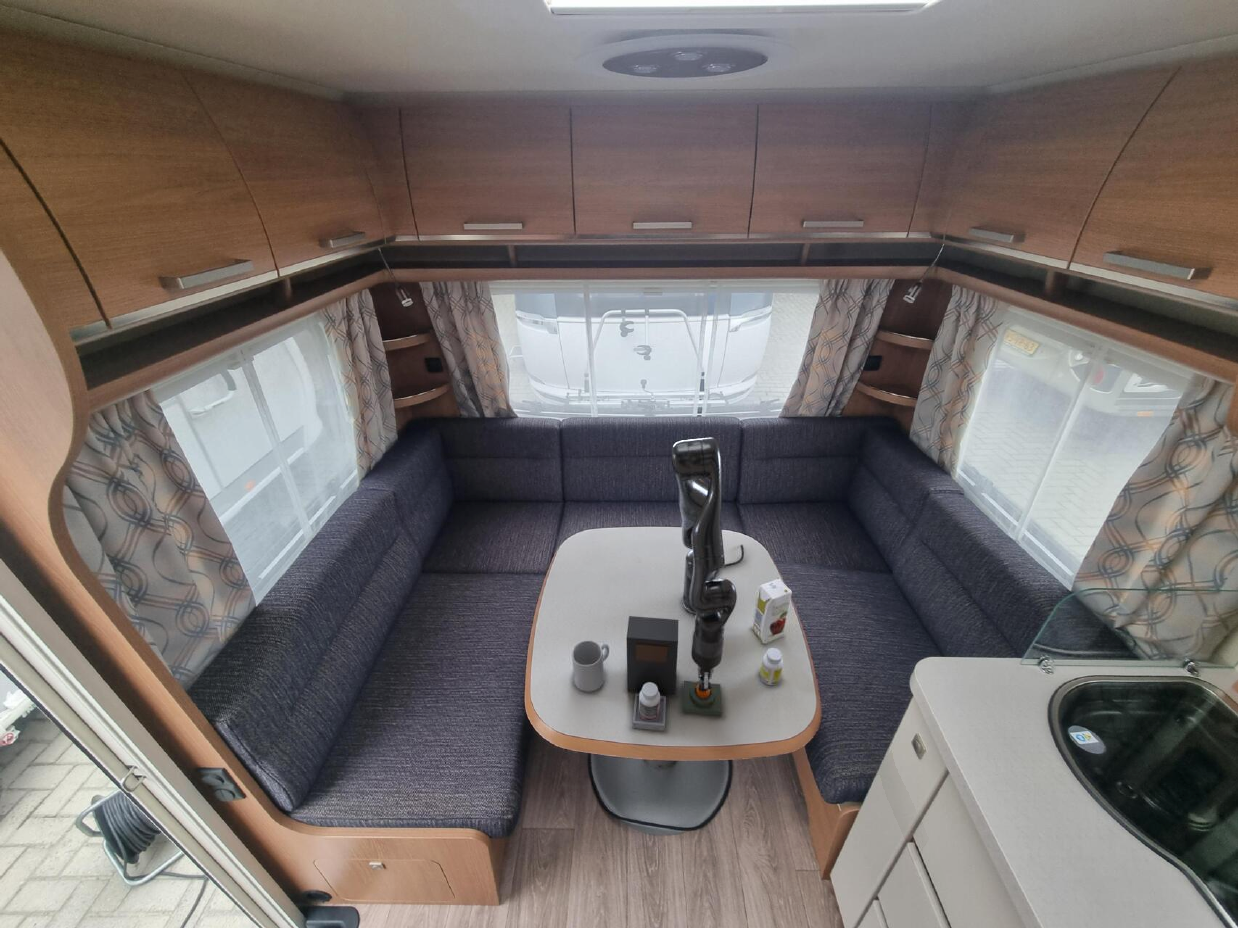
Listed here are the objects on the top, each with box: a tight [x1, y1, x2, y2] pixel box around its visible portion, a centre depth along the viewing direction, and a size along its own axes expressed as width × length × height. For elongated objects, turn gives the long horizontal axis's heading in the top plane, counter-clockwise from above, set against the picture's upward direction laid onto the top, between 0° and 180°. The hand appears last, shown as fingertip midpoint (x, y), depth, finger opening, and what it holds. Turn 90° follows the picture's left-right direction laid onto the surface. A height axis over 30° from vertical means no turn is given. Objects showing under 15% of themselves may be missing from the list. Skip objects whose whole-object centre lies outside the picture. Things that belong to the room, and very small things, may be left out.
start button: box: [696, 684, 710, 699], centre depth 129 cm, size 4×4×2 cm
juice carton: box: [751, 577, 793, 645], centre depth 145 cm, size 8×9×19 cm
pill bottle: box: [639, 682, 660, 721], centre depth 126 cm, size 5×5×10 cm
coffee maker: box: [625, 615, 680, 732], centre depth 127 cm, size 17×13×22 cm
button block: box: [682, 680, 723, 717], centre depth 130 cm, size 8×10×4 cm
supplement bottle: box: [759, 647, 784, 686], centre depth 135 cm, size 5×5×10 cm
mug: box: [571, 640, 610, 693], centre depth 136 cm, size 12×8×11 cm
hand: (702, 688), depth 129 cm, fingers closed
